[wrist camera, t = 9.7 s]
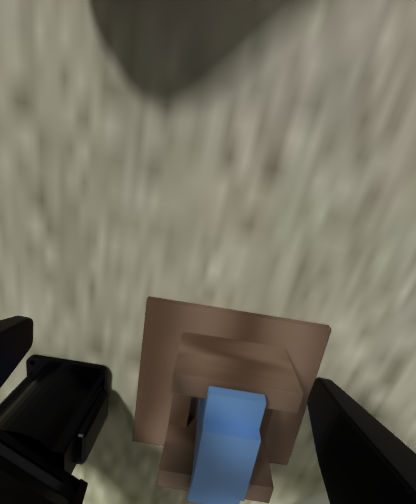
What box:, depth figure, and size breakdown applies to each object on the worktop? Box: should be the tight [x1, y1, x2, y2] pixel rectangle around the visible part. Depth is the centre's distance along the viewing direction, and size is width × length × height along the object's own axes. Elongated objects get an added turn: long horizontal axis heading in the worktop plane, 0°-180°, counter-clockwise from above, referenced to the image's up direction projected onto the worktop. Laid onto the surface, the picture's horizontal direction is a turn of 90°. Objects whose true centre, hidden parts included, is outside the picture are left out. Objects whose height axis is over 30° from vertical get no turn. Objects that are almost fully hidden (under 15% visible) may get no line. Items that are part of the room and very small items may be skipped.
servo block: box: [188, 386, 266, 504], centre depth 19 cm, size 3×9×6 cm, turn 171°
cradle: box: [132, 297, 331, 503], centre depth 19 cm, size 14×14×5 cm
